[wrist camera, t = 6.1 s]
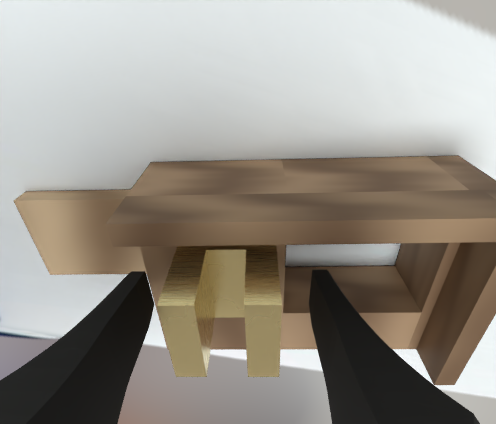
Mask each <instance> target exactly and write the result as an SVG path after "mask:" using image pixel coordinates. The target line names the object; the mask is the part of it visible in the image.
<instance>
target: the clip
mask: <svg viewBox="0 0 496 424" xmlns="http://www.w3.org/2000/svg"><path fill="white" fill-rule="evenodd" d="M157 308H158V312H159V316H160V319H161V323H162V327H163V330H164V334H165V338H166V341H167V345H168V349H169V352H170V356H171V360H172V364H173V367H174V371H175V374H176V377H207V370H208V363H209V356H210V349H211V341H212V334H213V327H214V319H215V318H231V317H245V332H246V350H247V368H248V377H279V367H280V341H281V316H282V300H281V290H280V279H279V269H278V258H277V248H276V245H224V246H177V249H176V251H175V254H174V257H173V260H172V263H171V266H170V269H169V272H168V275H167V278H166V281H165V283H164V286H163V289H162V292H161V295H160V298H159V301H158V304H157Z"/></svg>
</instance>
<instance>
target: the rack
mask: <svg viewBox="0 0 496 424" xmlns="http://www.w3.org/2000/svg"><path fill="white" fill-rule="evenodd" d="M14 203H15V205H16V207H17V209H18V211H19V213H20V215H21V217H22V219H23V221H24V223H25V225H26V227H27V229H28V231H29V233H30V235H31V237H32V239H33V241H34V243H35V245H36V247H37V249H38V251H39V253H40V255H41V257H42V259H43V261H44V263H45V265H46V267H47V269H48V271H49V273H50V275H61V274H129V273H130V272H131V271H145V273H146V274H147V276H148V279H149V283H150V287H151V290H152V294H153V298H154V301H155V305H156V309H157V312H158V308H157V304H158V301H159V298H160V295H161V292H162V289H163V286H164V283H165V281H166V278H167V275H168V272H169V269H170V266H171V263H172V260H173V257H174V254H175V251H176V249H177V246H224V245H276V248H277V258H278V269H279V279H280V290H281V300H282V316H281V341H280V349H317V345H316V341H315V337H314V333H313V329H312V324H311V317H310V309H309V295H310V286H311V276H312V270H321V269H327V270H328V271H329V272H330V274H331V276H332V277H333V279H334V280H335V282H336V283H337V285H338V286H339V288H340V289H341V291H342V292H343V293H344V295H345V296H346V298H347V299H348V300H349V302H350V303H351V304H352V305H353V307H354V308H355V309H356V311H357V312H358V313H359V314H360V315H361V317H362V318H363V319H364V320H365V321H366V323H367V324H368V325H369V326H370V327H371V328H372V329H373V330H374V332H375V333H376V334H377V335H378V336H379V337H380V338H381V339H382V340H383V341H384V342H385V343H386V344H387V345H388V346H389V347H390V348H391V349H417V351H418V353H419V355H420V357H421V359H422V361H423V364H424V366H425V368H426V370H427V372H428V374H429V376H430V378H431V380H432V382H433V384H434V385H455V383H456V381H457V380H458V378H459V376H460V374H461V373H462V371H463V369H464V368H465V366H466V364H467V362H468V361H469V359H470V357H471V355H472V354H473V352H474V350H475V349H476V347H477V345H478V343H479V342H480V340H481V338H482V337H483V335H484V333H485V331H486V330H487V328H488V326H489V324H490V323H491V321H492V319H493V318H494V316H495V314H496V180H494V179H493V178H491V177H490V176H488V175H487V174H485V173H484V172H482V171H481V170H479V169H478V168H476V167H475V166H473V165H472V164H470V163H469V162H467V161H466V160H464V159H463V158H461V157H460V156H421V157H374V158H328V159H281V160H234V161H188V162H151V163H150V164H149V166H148V167H147V168H146V170H145V171H144V172H143V174H142V175H141V176H140V178H139V179H138V180H137V182H136V183H135V185H134V186H133V187H132V189H131V190H79V191H26V192H25V193H23V194H22V195H21V196H19V197H18V198H17V199H15V200H14ZM383 243H401V246H400V250H399V253H398V257H397V260H396V264H395V266H340V267H285V257H286V245H304V244H383ZM158 316H159V312H158ZM159 320H160V323H161V319H160V316H159ZM161 327H162V323H161ZM162 331H163V334H164V330H163V327H162ZM164 338H165V334H164ZM165 342H166V345H167V341H166V338H165ZM167 349H168V345H167ZM211 349H246V332H245V317H231V318H215V319H214V327H213V334H212V341H211Z"/></svg>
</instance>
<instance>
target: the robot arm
mask: <svg viewBox="0 0 496 424" xmlns="http://www.w3.org/2000/svg"><path fill="white" fill-rule="evenodd" d="M153 307H154V302H153V298H152V294H151V291H150V287H149V283H148V280H147V276H146V273H145V271H131V272H130V273H129V274H128V275H127V276H126V277H125V278H124V279H123V280H122V281H121V282H120V283H119V284H118V285H117V286H116V287H115V289H114V290H113V291H112V292H111V293H110V294H109V295H108V296H107V297H106V298H105V299H104V300H103V301H102V302H101V303H100V304H99V305H98V306H97V307H96V308H95V309H93V310H92V311H91V312H90V313H89V314H88V315H87V316H86V317H85V318H84V319H83V320H82V321H80V322H79V323H78V324H77V325H76V326H75V327H74V328H73V329H71V330H70V331H69V332H68V333H67V334H65V335H64V336H63V337H62V338H60V339H59V340H58V341H57V342H56V343H54V344H53V345H52V346H50V347H49V348H48V349H46V350H45V351H43V352H42V353H41V354H39V355H38V356H36V357H35V358H33V359H32V360H31V361H29V362H28V363H27V364H25V365H24V366H22V367H21V368H19V369H18V370H16V371H14V372H13V373H11V374H10V375H8V376H7V377H5V378H3V379H2V380H0V424H117V423H118V419H119V415H120V411H121V407H122V403H123V400H124V396H125V392H126V389H127V385H128V382H129V379H130V376H131V374H132V371H133V368H134V366H135V363H136V360H137V358H138V355H139V352H140V350H141V347H142V344H143V342H144V339H145V336H146V333H147V331H148V328H149V324H150V320H151V316H152V312H153ZM309 309H310V317H311V324H312V329H313V333H314V337H315V341H316V345H317V349H318V353H319V357H320V361H321V365H322V369H323V373H324V377H325V382H326V386H327V392H328V399H329V405H330V412H331V418H332V424H480V423H479V422H478V420H477V419H476V417H475V416H474V414H473V413H472V412H470V411H469V410H467V409H466V408H465V407H463V406H462V405H460V404H459V403H457V402H456V401H455V400H453V399H452V398H451V397H449V396H448V395H446V394H445V393H443V392H442V391H441V390H439V389H438V388H437V387H435V386H434V385H433V384H432V383H430V382H429V381H428V380H426V379H425V378H424V377H423V376H422V375H420V374H419V373H418V372H417V371H416V370H415V369H413V368H412V367H411V366H410V365H409V364H408V363H406V362H405V361H404V360H403V359H402V358H401V357H400V356H398V355H397V354H396V353H395V352H394V351H393V350H392V349H391V348H390V347H389V346H388V345H387V344H386V343H385V342H384V341H383V340H382V339H381V338H380V337H379V336H378V335H377V334H376V333H375V332H374V330H373V329H372V328H371V327H370V326H369V325H368V324H367V323H366V321H365V320H364V319H363V318H362V317H361V315H360V314H359V313H358V312H357V311H356V309H355V308H354V307H353V305H352V304H351V303H350V302H349V300H348V299H347V298H346V296H345V295H344V293H343V292H342V291H341V289H340V288H339V286H338V285H337V283H336V282H335V280H334V279H333V277H332V276H331V274H330V272H329V271H328V270H327V269H321V270H312V276H311V286H310V295H309Z"/></svg>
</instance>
